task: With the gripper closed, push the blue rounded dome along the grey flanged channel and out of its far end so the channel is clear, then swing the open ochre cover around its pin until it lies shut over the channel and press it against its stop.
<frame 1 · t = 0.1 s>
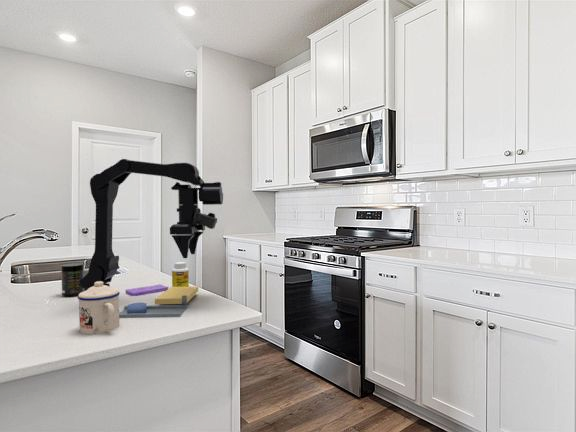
hand: (189, 256, 114), 15 cm above the worktop, tool pointing down, fingers open, 9 cm apart
cover: (178, 294, 116), point 3 cm above the worktop, hinge at -90.0°
blue rounded dome: (137, 312, 103), resting on grey flanged channel
supplement bottle: (180, 292, 130), on the worktop
supplement container: (73, 295, 127), on the worktop
teacup with lid: (102, 331, 90), on the worktop
sponges: (147, 293, 131), on the worktop
grey flanged channel: (151, 313, 103), on the worktop
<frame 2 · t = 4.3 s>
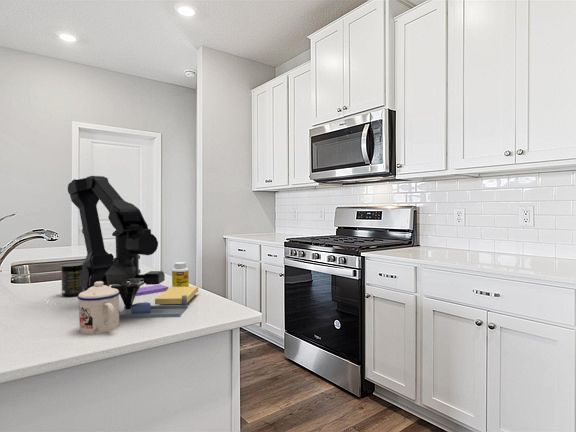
hand: (128, 309, 103), 1 cm above the worktop, tool pointing down, fingers closed
blue rounded dome: (141, 312, 103), resting on grey flanged channel
everything else where it was.
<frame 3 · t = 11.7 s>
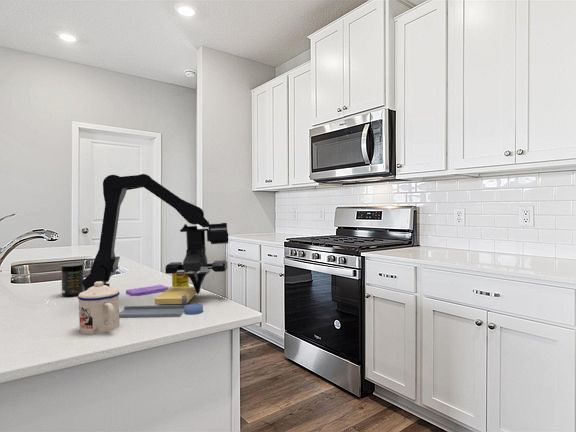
hand: (198, 293, 120), 2 cm above the worktop, tool pointing down, fingers closed
cover: (177, 294, 116), point 3 cm above the worktop, hinge at -89.5°, touching gripper
blue rounded dome: (193, 314, 104), on the worktop
everything else where it was.
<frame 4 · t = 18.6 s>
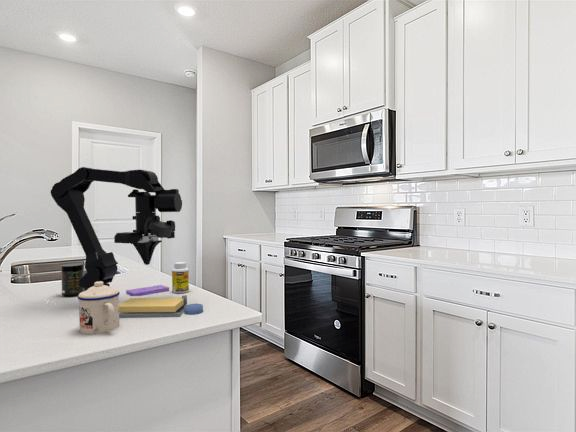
hand: (147, 264, 112), 12 cm above the worktop, tool pointing down, fingers closed
cover: (153, 303, 104), point 3 cm above the worktop, hinge at -2.6°
everything else where it was.
at the end: cover at -3° (first picture: -90°); blue rounded dome inside the target area (4.1 cm from its centre), on the worktop; blue rounded dome touching worktop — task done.
